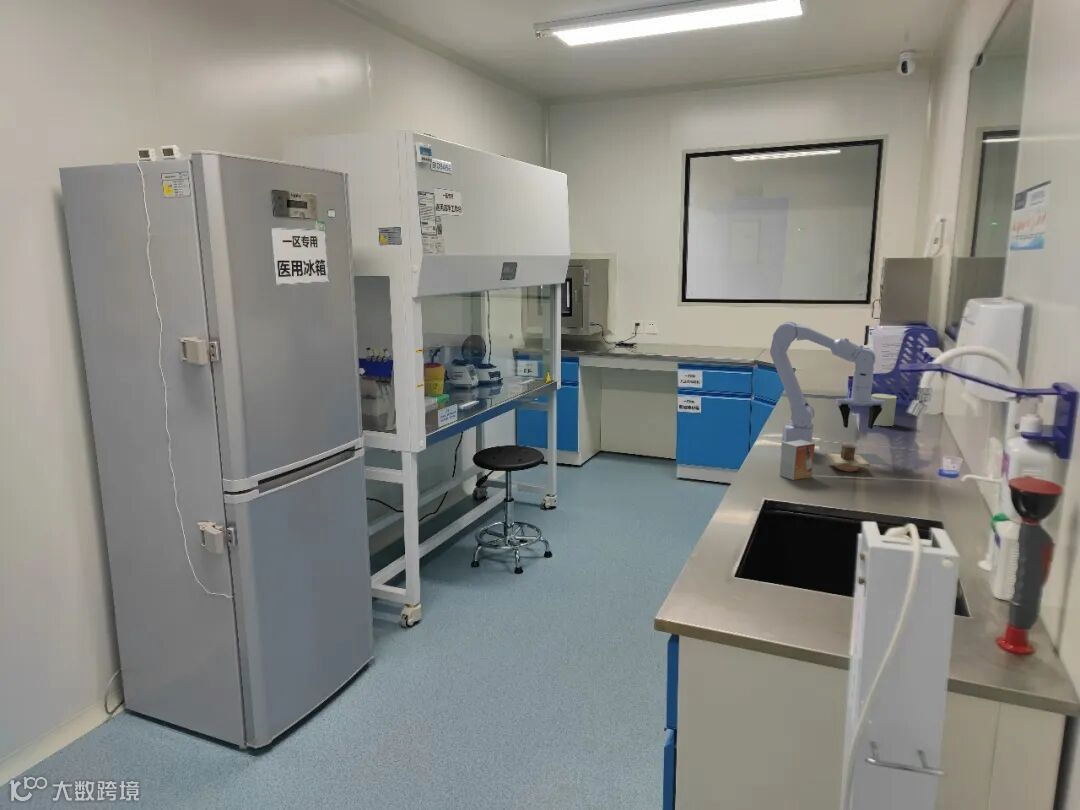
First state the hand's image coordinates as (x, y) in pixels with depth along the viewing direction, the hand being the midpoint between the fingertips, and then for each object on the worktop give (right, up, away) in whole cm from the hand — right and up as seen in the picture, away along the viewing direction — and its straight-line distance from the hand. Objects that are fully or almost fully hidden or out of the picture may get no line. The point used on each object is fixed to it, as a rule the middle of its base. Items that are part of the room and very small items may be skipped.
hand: (857, 427), depth 225 cm
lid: (-9, -10, -12) cm, 18 cm away
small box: (-27, -14, -17) cm, 35 cm away
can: (+32, -1, +50) cm, 59 cm away
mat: (+1, -11, 0) cm, 11 cm away
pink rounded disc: (-9, -13, -12) cm, 20 cm away
